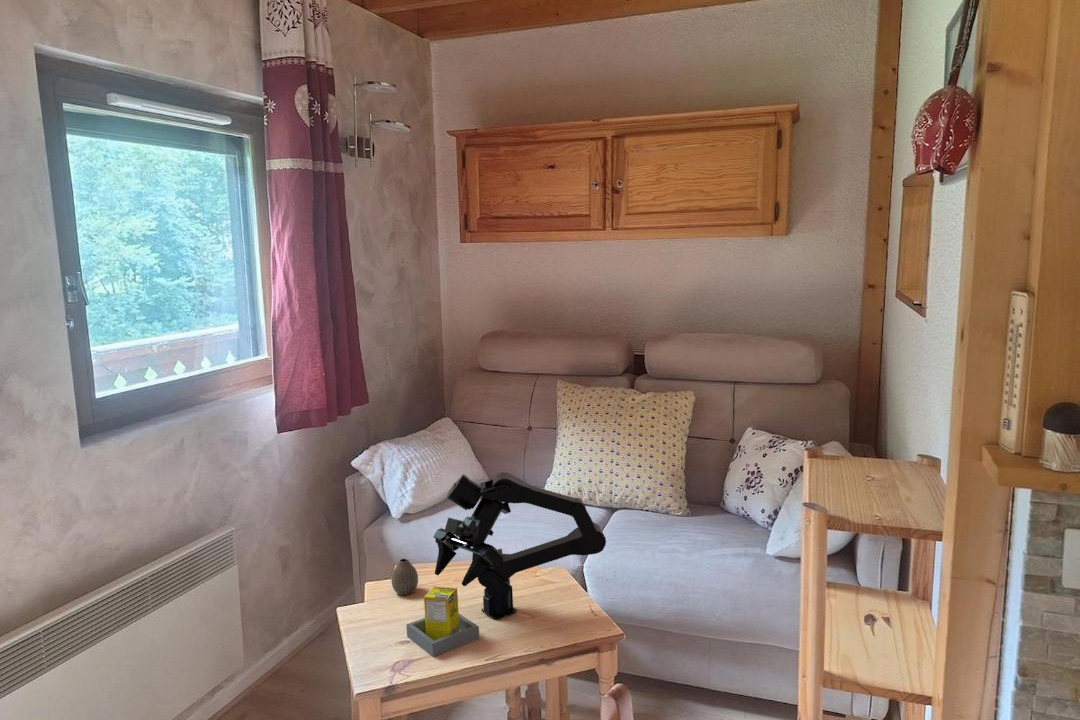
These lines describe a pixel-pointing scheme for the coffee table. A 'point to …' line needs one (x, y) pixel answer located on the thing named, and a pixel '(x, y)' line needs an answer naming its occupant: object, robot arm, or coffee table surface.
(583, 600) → the coffee table surface
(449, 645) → the collar
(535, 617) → the coffee table surface
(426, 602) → the supplement box
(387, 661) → the coffee table surface
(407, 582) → the vase
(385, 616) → the coffee table surface
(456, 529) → the robot arm
